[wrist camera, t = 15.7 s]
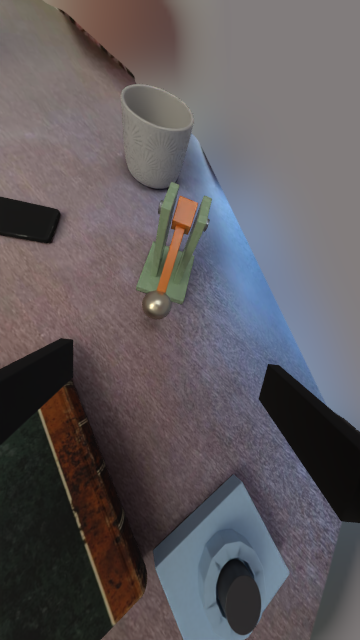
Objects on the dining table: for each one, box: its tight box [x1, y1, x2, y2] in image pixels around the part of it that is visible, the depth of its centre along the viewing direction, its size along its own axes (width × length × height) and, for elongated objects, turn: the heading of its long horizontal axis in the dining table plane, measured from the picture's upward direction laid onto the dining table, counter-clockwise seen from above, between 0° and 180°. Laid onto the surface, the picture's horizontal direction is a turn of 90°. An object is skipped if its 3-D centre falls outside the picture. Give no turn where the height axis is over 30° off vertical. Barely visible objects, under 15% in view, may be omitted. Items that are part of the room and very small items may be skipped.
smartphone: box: [0, 197, 60, 243], centre depth 28 cm, size 7×1×15 cm
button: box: [217, 559, 261, 635], centre depth 17 cm, size 4×4×2 cm
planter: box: [121, 84, 194, 189], centre depth 35 cm, size 12×12×11 cm
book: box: [0, 380, 147, 640], centre depth 17 cm, size 17×4×25 cm
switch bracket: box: [136, 182, 212, 304], centre depth 26 cm, size 10×8×14 cm
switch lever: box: [142, 196, 198, 320], centre depth 22 cm, size 14×4×4 cm, turn 167°
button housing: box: [153, 474, 290, 640], centre depth 19 cm, size 12×10×4 cm
